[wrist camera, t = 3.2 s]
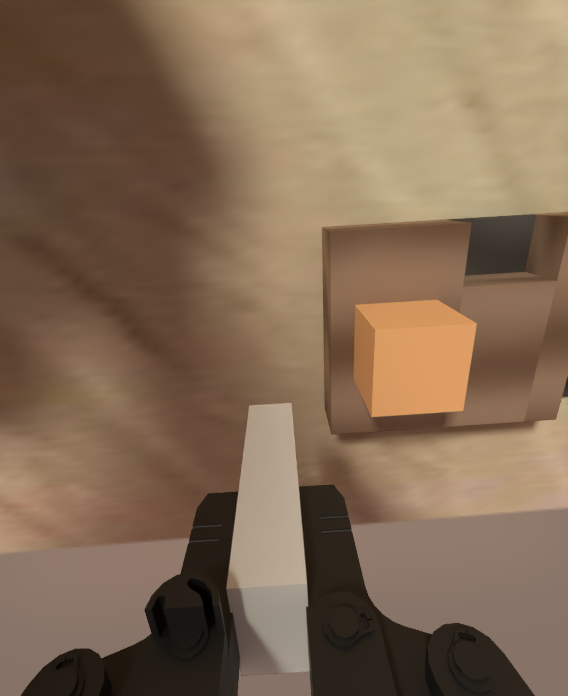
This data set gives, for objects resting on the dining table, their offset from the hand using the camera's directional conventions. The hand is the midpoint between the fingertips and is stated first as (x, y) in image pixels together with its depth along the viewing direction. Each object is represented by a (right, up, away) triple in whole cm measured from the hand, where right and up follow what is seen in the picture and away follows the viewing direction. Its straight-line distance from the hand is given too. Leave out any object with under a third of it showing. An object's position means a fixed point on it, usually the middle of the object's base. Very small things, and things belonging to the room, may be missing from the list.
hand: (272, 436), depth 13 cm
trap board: (+16, +5, +10) cm, 19 cm away
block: (+7, +4, +7) cm, 10 cm away
